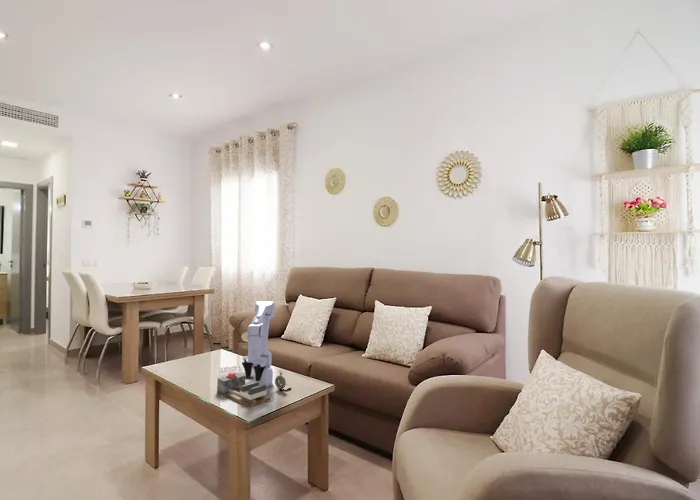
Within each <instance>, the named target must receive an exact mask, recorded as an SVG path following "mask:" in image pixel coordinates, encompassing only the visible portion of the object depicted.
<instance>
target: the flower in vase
mask: <svg viewBox="0 0 700 500" xmlns="http://www.w3.org/2000/svg"><path fill="white" fill-rule="evenodd" d="M240 338H241V340H242V341H243V342H246V343H247V345H246V344H244V345H242V346H241V349H245V350H246V349H247V350H248V343H249V341H248V334H247V331H245V332H243V333H242V334H241V336H240ZM241 374H243V375H245V377H246V374H245V370H244V369H243V370H242V371H241ZM249 378H254V370H253V368H252V370H251V376H250V377H249Z"/></svg>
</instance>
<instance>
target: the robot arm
mask: <svg viewBox="0 0 700 500" xmlns="http://www.w3.org/2000/svg"><path fill="white" fill-rule="evenodd" d="M275 307H276V304H275V301H267V300H266V301H260V300H257V301H255V304H254V312H255V314H256V315H255V316H254V317H252V321H251V324H249V325H248V326H247V329H246V330H247V331H246V332H247V334H248V341H249V343H248V342H247V346H248V348H247V355H244V356H242V360H243V362H241V365H242V367H243V370H245V374H246V376H245V378H251V377H250V376H251V370H252V368H253V370H254V377H253V382H256V381H258V382H259V386H260V385H263V384H265V385H266V388H268V387H270V386H274V383H273V376H274V375H273V373H274V372H273V371H274V370H273V368H272V359H273V358H272V355H273V354H272V352H270V351H269V349H268V339H269V330H270V329H269V328H270V321H271V319H272V318H274V316H275V310H276V308H275Z"/></svg>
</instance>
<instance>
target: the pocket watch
mask: <svg viewBox="0 0 700 500" xmlns="http://www.w3.org/2000/svg"><path fill="white" fill-rule="evenodd" d="M278 373H279V375H277V376H276V377H275V379H274V384H275V386H276V388H277V389H278V390H280V389H283V388H284V387H285V385H287V382H286V378H285V377H284V376H283V372H282V371H281V370H279V371H278ZM288 389H289V388H288ZM289 390H290V389H289Z"/></svg>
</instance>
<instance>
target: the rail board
mask: <svg viewBox="0 0 700 500" xmlns="http://www.w3.org/2000/svg"><path fill="white" fill-rule="evenodd" d="M216 383H217V386H216V393H218V394H220V395H221V396H223V397H225V398H227V399H230V400H232V401H235V402H236V403H238V404H241V405H242V406H244V407H247V408H248V407H249V408H252V407H255V406H258V405H260V403H261V404H264V403H267V402H269V401H268V400H270V401H271V396H268V395H267V394H266V395H264V396H261V397H258V398H255V399H252V400H250V399H247V398H245V397H243V396H241V395H240V391H241V386H242V385H246V376H245V375H242V373H240V372H237V373H236V377H235V378H233V379H229V378H228V375H224V376H222V377H217V382H216ZM266 401H267V402H266ZM263 402H264V403H263Z"/></svg>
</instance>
